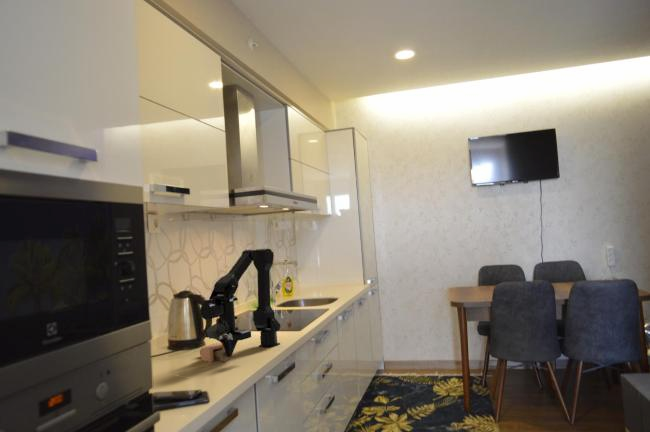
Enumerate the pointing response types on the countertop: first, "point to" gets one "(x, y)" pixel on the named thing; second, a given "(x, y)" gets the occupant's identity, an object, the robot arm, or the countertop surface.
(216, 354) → the tan long bar
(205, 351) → the pink bridge block
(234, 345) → the robot arm
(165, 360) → the countertop surface
